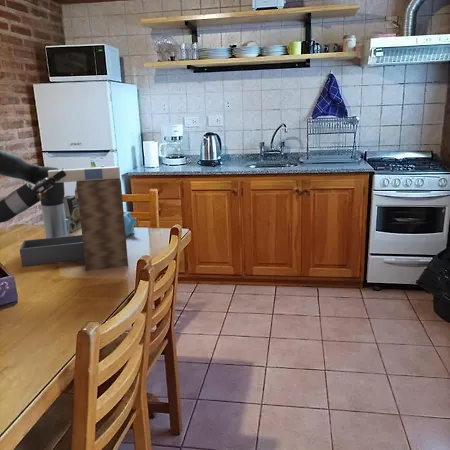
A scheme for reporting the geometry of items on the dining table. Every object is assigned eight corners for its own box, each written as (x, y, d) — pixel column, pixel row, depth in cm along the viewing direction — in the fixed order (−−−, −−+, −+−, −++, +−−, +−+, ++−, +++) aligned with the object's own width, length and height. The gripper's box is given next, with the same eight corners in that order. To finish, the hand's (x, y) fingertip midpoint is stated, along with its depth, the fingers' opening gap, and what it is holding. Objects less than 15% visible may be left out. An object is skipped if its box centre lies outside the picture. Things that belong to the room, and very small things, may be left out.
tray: (22, 267, 164) (19, 249, 163) (26, 257, 176) (23, 240, 174) (107, 257, 173) (105, 240, 171) (106, 248, 184) (104, 232, 182)
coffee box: (73, 231, 210) (69, 199, 206) (61, 231, 212) (56, 198, 208) (82, 226, 219) (79, 195, 215) (71, 226, 220) (67, 195, 216)
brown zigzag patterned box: (83, 271, 158) (73, 183, 150) (84, 260, 170) (74, 178, 161) (128, 265, 163) (120, 180, 155) (125, 255, 174) (118, 175, 166)
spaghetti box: (49, 183, 151) (47, 171, 150) (50, 181, 155) (48, 170, 154) (120, 178, 158) (119, 167, 157) (119, 176, 162) (118, 166, 161)
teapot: (138, 236, 200) (136, 213, 197) (104, 240, 195) (102, 217, 192) (132, 228, 214) (131, 207, 211) (101, 232, 209) (99, 210, 206)
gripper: (12, 193, 144) (56, 165, 146) (18, 186, 157) (59, 160, 159) (27, 211, 147) (71, 183, 149) (32, 203, 160) (72, 177, 162)
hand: (64, 171), depth 154 cm, fingers closed on spaghetti box, 4 cm apart
